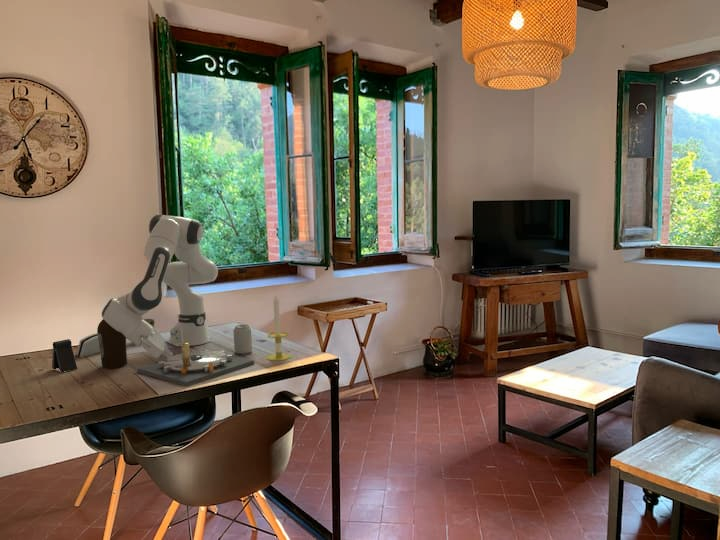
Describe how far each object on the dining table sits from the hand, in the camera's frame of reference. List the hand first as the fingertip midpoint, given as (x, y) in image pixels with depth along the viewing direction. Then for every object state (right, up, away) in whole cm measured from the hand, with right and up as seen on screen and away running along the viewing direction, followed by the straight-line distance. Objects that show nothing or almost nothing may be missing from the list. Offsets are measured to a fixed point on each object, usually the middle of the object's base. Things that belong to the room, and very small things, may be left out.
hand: (171, 356), depth 205 cm
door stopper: (-49, -8, +17) cm, 53 cm away
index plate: (+5, -7, +13) cm, 15 cm away
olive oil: (-31, -7, +20) cm, 37 cm away
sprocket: (+5, -5, +13) cm, 15 cm away
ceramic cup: (-36, -3, +61) cm, 71 cm away
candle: (+37, -5, +24) cm, 44 cm away
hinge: (-49, -5, +43) cm, 66 cm away
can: (+20, -4, +35) cm, 40 cm away
